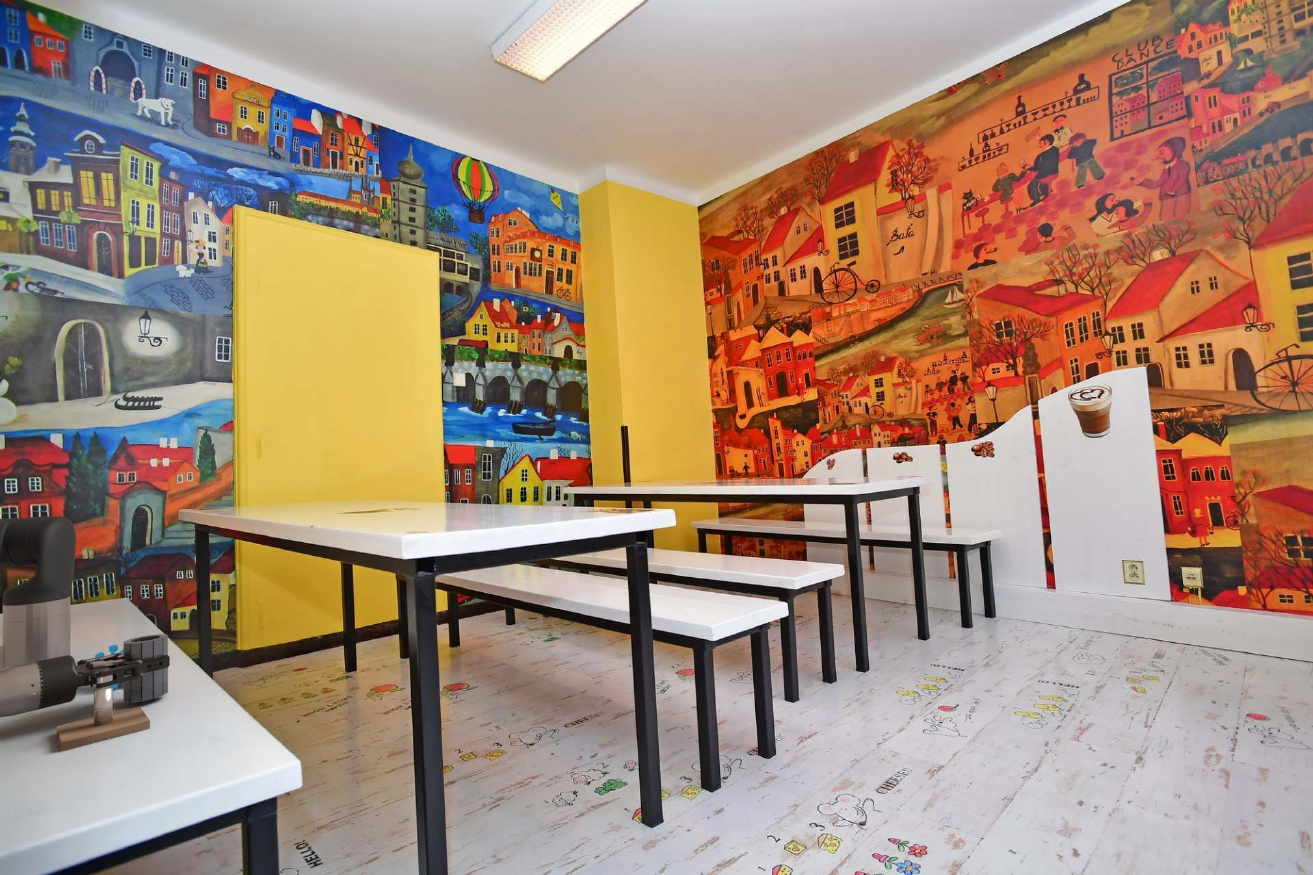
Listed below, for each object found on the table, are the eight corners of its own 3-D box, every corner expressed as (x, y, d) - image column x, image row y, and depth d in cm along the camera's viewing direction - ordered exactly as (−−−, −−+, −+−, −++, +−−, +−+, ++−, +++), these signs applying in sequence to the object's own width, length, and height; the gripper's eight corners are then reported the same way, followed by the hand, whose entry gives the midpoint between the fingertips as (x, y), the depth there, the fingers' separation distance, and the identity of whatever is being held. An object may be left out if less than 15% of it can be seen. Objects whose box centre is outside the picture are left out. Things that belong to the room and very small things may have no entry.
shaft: (90, 727, 96) (90, 692, 96) (99, 721, 98) (99, 687, 98) (107, 724, 96) (107, 690, 96) (116, 719, 98) (116, 686, 99)
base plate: (56, 734, 97) (56, 726, 97) (139, 713, 104) (139, 706, 104) (61, 751, 90) (61, 742, 90) (149, 728, 97) (149, 720, 97)
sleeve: (115, 704, 106) (115, 645, 107) (136, 692, 112) (136, 636, 113) (156, 699, 108) (156, 641, 108) (174, 688, 114) (174, 632, 114)
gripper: (42, 669, 95) (176, 641, 108) (23, 656, 103) (149, 632, 117) (42, 719, 94) (176, 685, 108) (23, 702, 103) (150, 672, 116)
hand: (162, 658), depth 112 cm, fingers closed on sleeve, 6 cm apart
